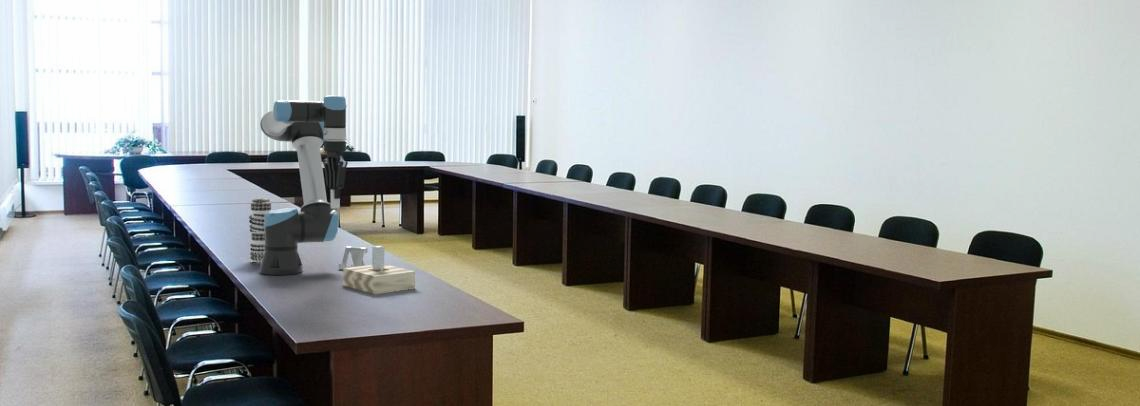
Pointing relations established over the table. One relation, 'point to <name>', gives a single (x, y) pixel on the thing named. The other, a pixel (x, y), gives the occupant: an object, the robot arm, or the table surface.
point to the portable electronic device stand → (353, 257)
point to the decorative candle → (258, 227)
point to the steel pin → (378, 258)
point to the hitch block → (378, 279)
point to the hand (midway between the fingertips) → (335, 207)
